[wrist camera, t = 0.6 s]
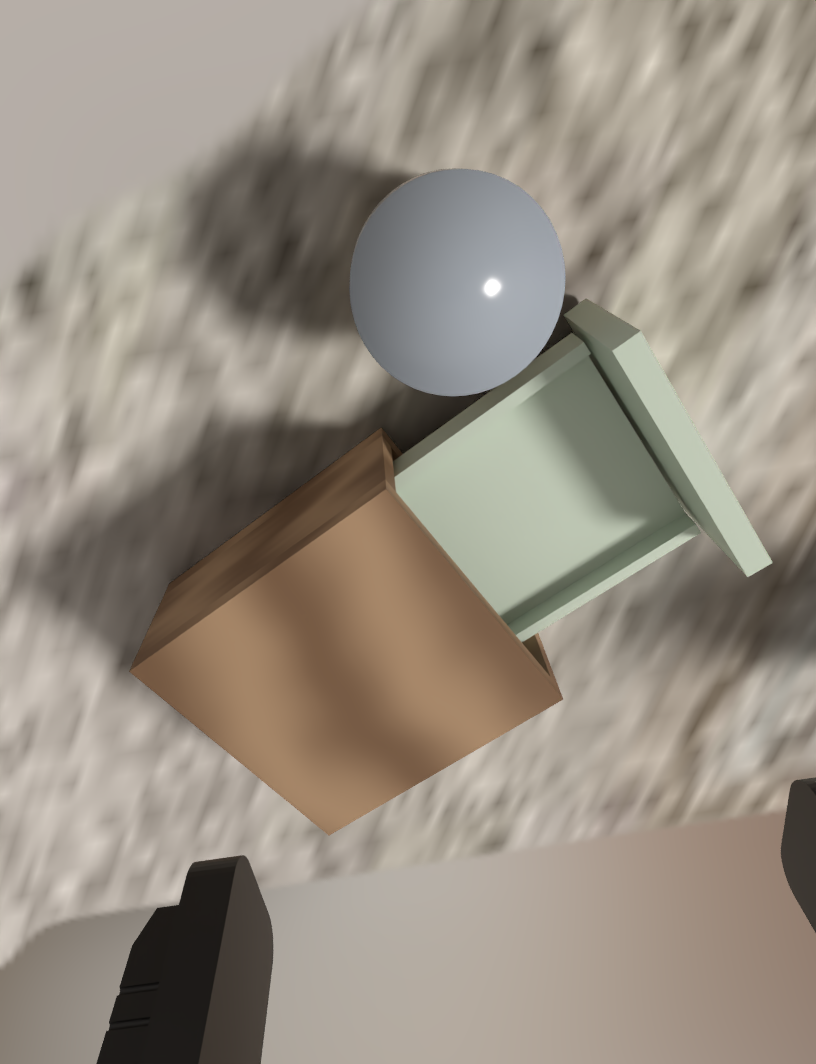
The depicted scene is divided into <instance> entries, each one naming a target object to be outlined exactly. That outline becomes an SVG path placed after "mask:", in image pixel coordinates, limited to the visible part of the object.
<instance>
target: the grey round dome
mask: <svg viewBox="0 0 816 1064" xmlns="http://www.w3.org/2000/svg"><path fill="white" fill-rule="evenodd" d="M349 290H350V302H351V308H352V313H353V318H354V321H355V324H356V327H357V330H358V332H359V334H360V336H361V338H362V340H363V342H364V344H365V346H366V348H367V349H368V351H369V352H370V354H371V355H372V356H373V358H374V359H375V360H376V361H377V362H378V363H379V364H380V366H381V367H382V368H384V369H385V370H386V371H387V372H388V373H389V374H390V375H392V376H393V377H395V378H396V379H398V380H399V381H401V382H402V383H404V384H406V385H408V386H410V387H412V388H414V389H417V390H420V391H423V392H426V393H430V394H435V395H441V396H465V395H471V394H476V393H480V392H484V391H487V390H490V389H492V388H495V387H497V386H499V385H501V384H503V383H505V382H506V381H508V380H510V379H511V378H513V377H514V376H516V375H517V374H518V373H520V372H521V371H522V370H523V369H525V368H526V367H527V366H528V365H529V364H530V363H531V362H532V361H533V360H534V359H535V358H536V356H537V355H538V354H539V353H540V351H541V350H542V349H543V347H544V346H545V344H546V343H547V341H548V339H549V338H550V336H551V334H552V332H553V330H554V328H555V325H556V323H557V321H558V318H559V314H560V311H561V308H562V304H563V298H564V292H565V265H564V258H563V253H562V248H561V245H560V242H559V239H558V236H557V233H556V231H555V229H554V227H553V225H552V223H551V221H550V219H549V218H548V217H547V215H546V214H545V212H544V211H543V209H542V208H541V207H540V206H539V204H538V203H537V202H536V201H535V200H534V199H533V198H532V197H531V196H530V195H529V194H527V193H526V192H525V191H524V190H523V189H521V188H520V187H519V186H517V185H515V184H514V183H512V182H510V181H509V180H507V179H504V178H502V177H499V176H497V175H495V174H491V173H487V172H483V171H479V170H469V169H441V170H436V171H431V172H427V173H424V174H421V175H418V176H416V177H413V178H411V179H410V180H408V181H406V182H404V183H402V184H401V185H399V186H398V187H396V188H395V189H394V190H392V191H391V192H390V193H389V194H387V195H386V196H385V197H384V198H383V199H382V200H381V201H380V202H379V203H378V205H377V206H376V207H375V208H374V210H373V211H372V212H371V213H370V215H369V217H368V218H367V220H366V222H365V223H364V225H363V227H362V229H361V231H360V234H359V236H358V238H357V241H356V245H355V248H354V251H353V257H352V262H351V270H350V288H349Z"/></svg>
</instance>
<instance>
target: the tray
mask: <svg viewBox="0 0 816 1064" xmlns="http://www.w3.org/2000/svg"><path fill="white" fill-rule="evenodd" d="M564 316H565V318H566V320H567V321H568V323H569V325H570V326H571V328H572V329H573V331H574V333H575V334H576V336H575V335H574V334H573V333H571V334H569V335H568V336H567V337H565V338H564V339H562V340H561V341H560V342H558V343H557V344H555V345H554V346H553V347H551V348H550V349H549V350H547V351H546V352H544V353H543V354H542V355H540V356H539V357H537V358H536V359H535V360H533V361H532V362H531V363H530V364H529V365H528V366H527V367H526V368H525V369H523V370H522V371H521V372H520V373H518V374H517V375H516V376H514V377H513V378H511V379H510V380H508V381H506V382H505V383H503V384H501V385H499V386H497V387H496V388H494V389H493V390H492V391H490V392H489V393H487V394H486V395H485V396H483V397H482V398H480V399H479V400H478V401H476V402H475V403H473V404H472V405H471V406H469V407H468V408H466V409H465V410H464V411H462V412H461V413H460V414H458V415H457V416H455V417H454V418H453V419H451V420H450V421H448V422H447V423H446V424H444V425H443V426H441V427H440V428H439V429H437V430H436V431H435V432H433V433H432V434H430V435H429V436H428V437H426V438H425V439H423V440H422V441H421V442H419V443H418V444H416V445H415V446H414V447H412V448H411V449H409V450H408V451H407V452H405V453H404V454H403V455H401V456H400V457H398V458H397V459H396V460H394V461H393V469H394V478H395V487H396V493H397V494H398V495H399V496H400V497H401V499H402V500H403V501H404V502H405V503H406V505H407V506H408V507H409V508H410V509H411V511H412V512H413V513H414V514H415V515H416V517H417V518H418V519H419V520H420V521H421V523H422V524H423V525H424V526H425V527H426V529H427V530H428V531H429V532H430V533H431V534H432V536H433V537H434V538H435V539H436V540H437V542H438V543H439V544H440V545H441V546H442V548H443V549H444V550H445V551H446V552H447V554H448V555H449V556H450V557H451V558H452V560H453V561H454V562H455V563H456V564H457V566H458V567H459V568H460V569H461V570H462V572H463V573H464V574H465V575H466V576H467V578H468V579H469V580H470V581H471V582H472V584H473V585H474V586H475V587H476V588H477V590H478V591H479V592H480V593H481V594H482V596H483V597H484V598H485V599H486V600H487V602H488V603H489V604H490V605H491V606H492V608H493V609H494V610H495V611H496V612H497V614H498V615H499V616H500V617H501V618H502V620H503V621H504V622H505V623H506V624H507V625H508V627H509V628H510V629H511V630H512V631H513V633H514V634H515V635H516V636H517V637H518V639H519V640H520V641H521V642H523V641H525V640H527V639H528V638H530V637H532V636H533V635H535V634H536V633H538V632H540V631H541V630H543V629H545V628H546V627H548V626H549V625H551V624H553V623H554V622H556V621H558V620H559V619H561V618H563V617H564V616H566V615H567V614H569V613H571V612H572V611H574V610H576V609H577V608H579V607H580V606H582V605H584V604H585V603H587V602H589V601H590V600H592V599H594V598H595V597H597V596H598V595H600V594H602V593H603V592H605V591H607V590H608V589H610V588H611V587H613V586H615V585H616V584H618V583H620V582H621V581H623V580H625V579H626V578H628V577H629V576H631V575H633V574H634V573H636V572H638V571H639V570H641V569H643V568H644V567H646V566H647V565H649V564H651V563H652V562H654V561H656V560H657V559H659V558H660V557H662V556H664V555H665V554H667V553H669V552H670V551H672V550H674V549H675V548H677V547H678V546H680V545H682V544H683V543H685V542H687V541H688V540H690V539H691V538H693V537H695V536H696V535H698V534H700V533H701V532H700V530H699V529H698V527H697V525H696V524H695V523H694V522H693V521H692V520H691V518H692V519H693V520H694V521H695V522H696V523H697V524H698V525H699V526H700V527H701V528H702V529H703V530H704V531H705V532H706V533H707V535H708V536H709V537H710V538H711V539H712V540H713V541H714V542H715V543H716V544H717V545H718V546H719V547H720V548H721V549H722V551H723V552H724V553H725V554H726V555H727V556H728V557H729V558H730V559H731V560H732V561H733V562H734V563H735V564H736V565H737V567H738V568H739V569H740V570H741V571H742V572H743V573H744V574H745V575H746V576H747V577H749V576H751V575H753V574H754V573H756V572H758V571H759V570H761V569H763V568H765V567H766V566H768V565H770V564H771V563H773V562H772V560H771V559H770V557H769V555H768V553H767V552H766V550H765V548H764V546H763V545H762V543H761V541H760V539H759V538H758V536H757V534H756V532H755V531H754V529H753V527H752V525H751V524H750V522H749V520H748V518H747V517H746V515H745V513H744V511H743V510H742V508H741V506H740V504H739V503H738V501H737V499H736V497H735V496H734V494H733V492H732V490H731V488H730V487H729V485H728V483H727V481H726V480H725V478H724V476H723V474H722V473H721V471H720V469H719V467H718V466H717V464H716V462H715V460H714V459H713V457H712V455H711V453H710V452H709V450H708V448H707V446H706V445H705V443H704V441H703V439H702V438H701V436H700V434H699V432H698V431H697V429H696V427H695V425H694V424H693V422H692V420H691V418H690V417H689V415H688V413H687V411H686V410H685V408H684V406H683V404H682V403H681V401H680V399H679V397H678V396H677V394H676V392H675V390H674V388H673V387H672V385H671V383H670V381H669V380H668V378H667V376H666V374H665V373H664V371H663V369H662V367H661V366H660V364H659V362H658V360H657V359H656V357H655V355H654V353H653V352H652V350H651V348H650V346H649V345H648V343H647V341H646V339H645V338H644V336H643V334H642V332H641V331H640V330H638V329H637V328H635V327H633V326H632V325H630V324H628V323H626V322H625V321H623V320H621V319H620V318H618V317H616V316H615V315H613V314H611V313H610V312H608V311H606V310H605V309H603V308H601V307H600V306H598V305H596V304H594V303H593V302H591V301H589V300H588V299H585V300H583V301H582V302H581V303H579V304H578V305H576V306H575V307H574V308H572V309H571V310H570V311H568V312H567V313H565V314H564ZM588 355H589V356H588ZM589 357H590V358H589ZM591 360H592V361H591ZM593 363H594V364H593ZM594 365H595V366H594ZM596 368H597V369H596ZM597 370H598V371H597ZM599 373H600V374H599ZM601 376H602V377H601ZM602 378H603V379H602ZM604 381H605V382H604ZM607 386H608V387H607ZM609 389H610V390H609ZM610 391H611V392H610ZM612 394H613V395H612ZM615 399H616V400H615ZM617 402H618V403H617ZM618 404H619V405H618ZM620 407H621V408H620ZM622 410H623V411H622ZM623 412H624V413H623ZM625 415H626V416H625ZM628 420H629V421H628ZM630 423H631V424H630ZM631 425H632V426H631ZM633 428H634V429H633ZM636 433H637V434H636ZM638 436H639V437H638ZM639 438H640V439H639ZM641 441H642V442H641ZM644 446H645V447H644ZM646 449H647V450H646ZM647 451H648V452H647ZM649 454H650V455H649ZM651 457H652V458H651ZM652 459H653V460H652ZM654 462H655V463H654ZM657 467H658V468H657ZM659 470H660V471H659ZM660 472H661V473H660ZM662 475H663V476H662ZM665 480H666V481H665ZM667 483H668V484H667ZM668 485H669V486H668ZM670 488H671V489H670ZM673 493H674V494H673ZM675 496H676V497H675ZM678 501H679V502H678ZM680 504H681V505H680ZM681 506H682V507H681ZM683 509H684V510H685V511H686V512H687V513H688V514H689V515H690V516H691V518H690V517H689V516H688V515H687V514H686V513H685V511H684V510H683Z"/></svg>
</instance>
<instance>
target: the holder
mask: <svg viewBox="0 0 816 1064" xmlns="http://www.w3.org/2000/svg"><path fill="white" fill-rule="evenodd" d="M401 455H403V454H402V452H401V451H400V450H399V449H398V447H397V446H396V445H395V444H394V443H393V441H392V440H391V439H390V438H389V436H388V435H387V434H386V433H385V431H384V430H383V429H382V428H380V429H379V430H377V431H376V432H375V433H373V434H372V435H370V436H369V437H368V438H366V439H365V440H364V441H362V442H361V443H360V444H358V445H357V446H356V447H354V448H353V449H351V450H350V451H349V452H347V453H346V454H345V455H343V456H342V457H341V458H339V459H338V460H337V461H335V462H334V463H332V464H331V465H330V466H328V467H327V468H326V469H324V470H323V471H322V472H320V473H319V474H318V475H316V476H315V477H313V478H312V479H311V480H309V481H308V482H307V483H305V484H304V485H303V486H301V487H300V488H299V489H297V490H296V491H294V492H293V493H292V494H290V495H289V496H288V497H286V498H285V499H284V500H282V501H281V502H280V503H278V504H277V505H275V506H274V507H273V508H271V509H270V510H269V511H267V512H266V513H265V514H263V515H262V516H261V517H259V518H258V519H256V520H255V521H254V522H252V523H251V524H250V525H248V526H247V527H246V528H244V529H243V530H242V531H240V532H239V533H237V534H236V535H235V536H233V537H232V538H231V539H229V540H228V541H227V542H225V543H224V544H223V545H221V546H220V547H218V548H217V549H216V550H214V551H213V552H212V553H210V554H209V555H208V556H206V557H205V558H204V559H202V560H201V561H199V562H198V563H197V564H195V565H194V566H193V567H191V568H190V569H189V570H187V571H186V572H185V573H183V574H182V575H180V576H179V577H178V578H176V579H175V580H174V581H172V582H171V583H170V584H169V585H168V587H167V590H166V592H165V594H164V596H163V598H162V601H161V603H160V605H159V607H158V609H157V612H156V614H155V616H154V618H153V620H152V623H151V625H150V627H149V629H148V631H147V634H146V636H145V638H144V640H143V642H142V645H141V647H140V649H139V651H138V653H137V655H136V658H135V660H134V662H133V664H132V666H131V669H130V671H129V672H131V673H132V674H133V675H134V676H135V677H137V678H138V679H139V680H140V681H142V682H143V683H144V684H145V685H146V686H148V687H149V688H150V689H151V690H152V691H154V692H155V693H156V694H157V695H159V696H160V697H161V698H162V699H163V700H165V701H166V702H167V703H168V704H170V705H171V706H172V707H173V708H174V709H176V710H177V711H178V712H179V713H180V714H182V715H183V716H184V717H185V718H187V719H188V720H189V721H190V722H191V723H193V724H194V725H195V726H196V727H198V728H199V729H200V730H201V731H202V732H204V733H205V734H206V735H207V736H209V737H210V738H211V739H212V740H213V741H215V742H216V743H217V744H218V745H219V746H221V747H222V748H223V749H224V750H226V751H227V752H228V753H229V754H230V755H232V756H233V757H234V758H235V759H237V760H238V761H239V762H240V763H241V764H243V765H244V766H245V767H246V768H247V769H249V770H250V771H251V772H252V773H254V774H255V775H256V776H257V777H258V778H260V779H261V780H262V781H263V782H265V783H266V784H267V785H268V786H269V787H271V788H272V789H273V790H274V791H275V792H277V793H278V794H279V795H280V796H282V797H283V798H284V799H285V800H286V801H288V802H289V803H290V804H291V805H293V806H294V807H295V808H296V809H297V810H299V811H300V812H301V813H302V814H303V815H305V816H306V817H307V818H308V819H310V820H311V821H312V822H313V823H314V824H316V825H317V826H318V827H319V828H321V829H322V830H323V831H324V832H325V833H327V834H328V835H331V834H332V833H334V832H336V831H337V830H339V829H341V828H343V827H344V826H346V825H348V824H349V823H351V822H353V821H355V820H356V819H358V818H360V817H361V816H363V815H365V814H367V813H368V812H370V811H372V810H374V809H375V808H377V807H379V806H380V805H382V804H384V803H386V802H387V801H389V800H391V799H392V798H394V797H396V796H398V795H399V794H401V793H403V792H405V791H406V790H408V789H410V788H411V787H413V786H415V785H417V784H418V783H420V782H422V781H423V780H425V779H427V778H429V777H430V776H432V775H434V774H435V773H437V772H439V771H441V770H442V769H444V768H446V767H448V766H449V765H451V764H453V763H454V762H456V761H458V760H460V759H461V758H463V757H465V756H466V755H468V754H470V753H472V752H473V751H475V750H477V749H478V748H480V747H482V746H484V745H485V744H487V743H489V742H491V741H492V740H494V739H496V738H497V737H499V736H501V735H503V734H504V733H506V732H508V731H509V730H511V729H513V728H515V727H516V726H518V725H520V724H522V723H523V722H525V721H527V720H528V719H530V718H532V717H534V716H535V715H537V714H539V713H540V712H542V711H544V710H546V709H547V708H549V707H551V706H552V705H554V704H556V703H558V702H559V701H561V700H563V698H562V695H561V692H560V690H559V687H558V684H557V682H556V679H555V676H554V674H553V671H552V669H551V666H550V663H549V661H548V658H547V655H546V653H545V650H544V647H543V645H542V642H541V640H540V637H539V634H538V633H536V634H535V635H533V636H532V637H530V638H528V639H527V640H525V641H523V642H521V641H520V640H519V639H518V637H517V636H516V635H515V634H514V633H513V631H512V630H511V629H510V628H509V627H508V625H507V624H506V623H505V622H504V621H503V620H502V618H501V617H500V616H499V615H498V614H497V612H496V611H495V610H494V609H493V608H492V606H491V605H490V604H489V603H488V602H487V600H486V599H485V598H484V597H483V596H482V594H481V593H480V592H479V591H478V590H477V588H476V587H475V586H474V585H473V584H472V582H471V581H470V580H469V579H468V578H467V576H466V575H465V574H464V573H463V572H462V570H461V569H460V568H459V567H458V566H457V564H456V563H455V562H454V561H453V560H452V558H451V557H450V556H449V555H448V554H447V552H446V551H445V550H444V549H443V548H442V546H441V545H440V544H439V543H438V542H437V540H436V539H435V538H434V537H433V536H432V534H431V533H430V532H429V531H428V530H427V529H426V527H425V526H424V525H423V524H422V523H421V521H420V520H419V519H418V518H417V517H416V515H415V514H414V513H413V512H412V511H411V509H410V508H409V507H408V506H407V505H406V503H405V502H404V501H403V500H402V499H401V497H400V496H399V495H398V494H397V493H396V487H395V478H394V469H393V461H394V460H396V459H397V458H398V457H400V456H401Z"/></svg>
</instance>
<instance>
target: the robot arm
mask: <svg viewBox="0 0 816 1064" xmlns="http://www.w3.org/2000/svg"><path fill="white" fill-rule="evenodd" d="M781 858H782V863H783V868H784V872H785V875H786V878H787V881H788V883H789V886H790V888H791V890H792V892H793V894H794V896H795V898H796V900H797V901H798V903H799V905H800V906H801V908H802V910H803V912H804V913H805V915H806V917H807V919H808V920H809V922H810V924H811V926H812V927H813V929H814V930H815V932H816V777H815V778H808V779H801V780H796V781H794V782H793V783H792V785H791V787H790V793H789V799H788V805H787V812H786V818H785V825H784V832H783V838H782V845H781ZM272 964H273V933H272V925H271V920H270V917H269V914H268V911H267V908H266V906H265V903H264V900H263V898H262V895H261V892H260V890H259V887H258V884H257V882H256V879H255V876H254V874H253V871H252V868H251V866H250V863H249V861H248V859H247V857H246V856H244V855H242V856H235V857H227V858H220V859H213V860H206V861H199V862H194V863H193V864H192V865H191V867H190V868H189V870H188V873H187V876H186V880H185V884H184V887H183V891H182V895H181V899H180V903H179V905H176V906H169V907H161V908H157V909H156V911H155V912H154V914H153V915H152V917H151V918H150V920H149V921H148V923H147V924H146V926H145V927H144V929H143V930H142V932H141V933H140V935H139V936H138V938H137V939H136V941H135V942H134V944H133V945H132V948H131V951H130V955H129V958H128V961H127V964H126V968H125V971H124V974H123V978H122V981H121V984H120V994H119V995H118V996H117V998H116V1001H115V1004H114V1008H113V1011H112V1014H111V1017H110V1021H109V1023H110V1027H109V1031H106V1034H105V1038H104V1041H103V1044H102V1047H101V1051H100V1054H99V1057H98V1061H97V1064H261V1056H262V1047H263V1039H264V1031H265V1023H266V1014H267V1005H268V998H269V989H270V981H271V972H272Z"/></svg>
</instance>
